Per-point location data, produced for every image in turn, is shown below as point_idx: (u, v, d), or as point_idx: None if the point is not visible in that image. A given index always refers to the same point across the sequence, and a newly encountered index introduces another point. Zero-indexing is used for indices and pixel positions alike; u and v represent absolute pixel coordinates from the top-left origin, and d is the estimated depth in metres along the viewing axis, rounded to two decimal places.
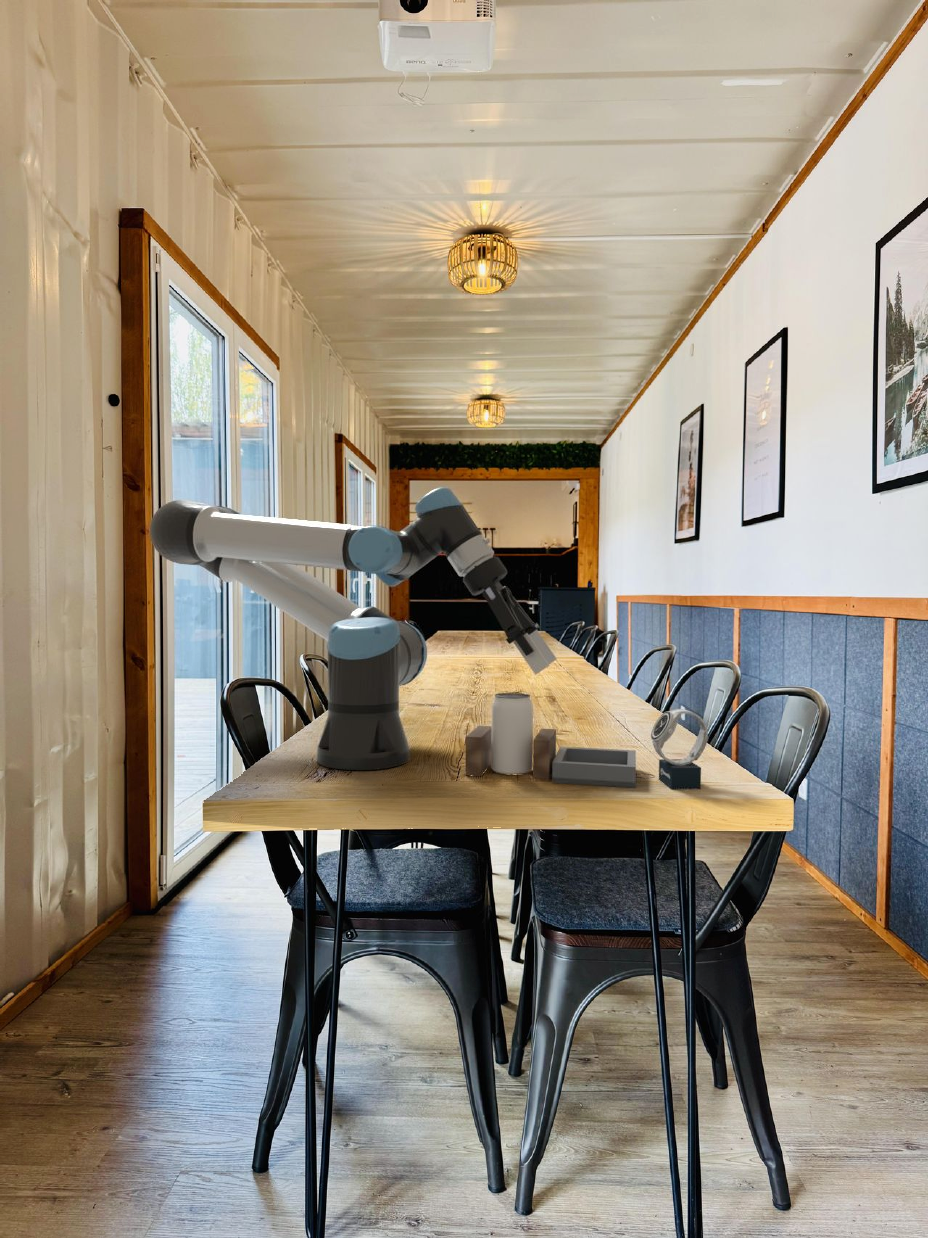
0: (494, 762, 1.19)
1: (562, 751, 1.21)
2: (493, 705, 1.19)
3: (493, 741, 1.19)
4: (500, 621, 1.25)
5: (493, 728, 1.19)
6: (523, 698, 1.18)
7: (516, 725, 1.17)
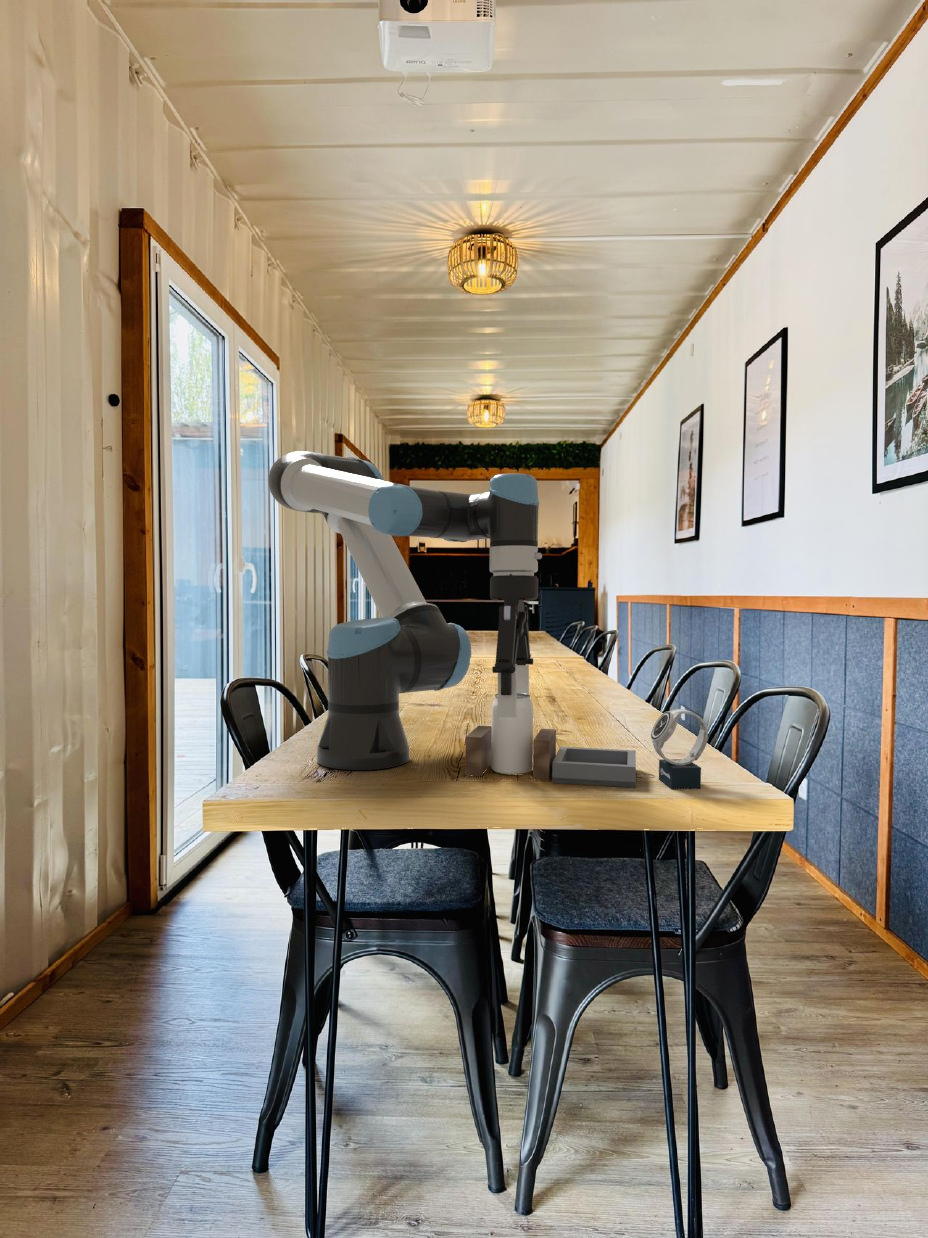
0: (494, 762, 1.19)
1: (562, 751, 1.21)
2: (493, 705, 1.19)
3: (493, 741, 1.19)
4: (498, 647, 1.11)
5: (493, 728, 1.19)
6: (523, 698, 1.18)
7: (516, 725, 1.17)
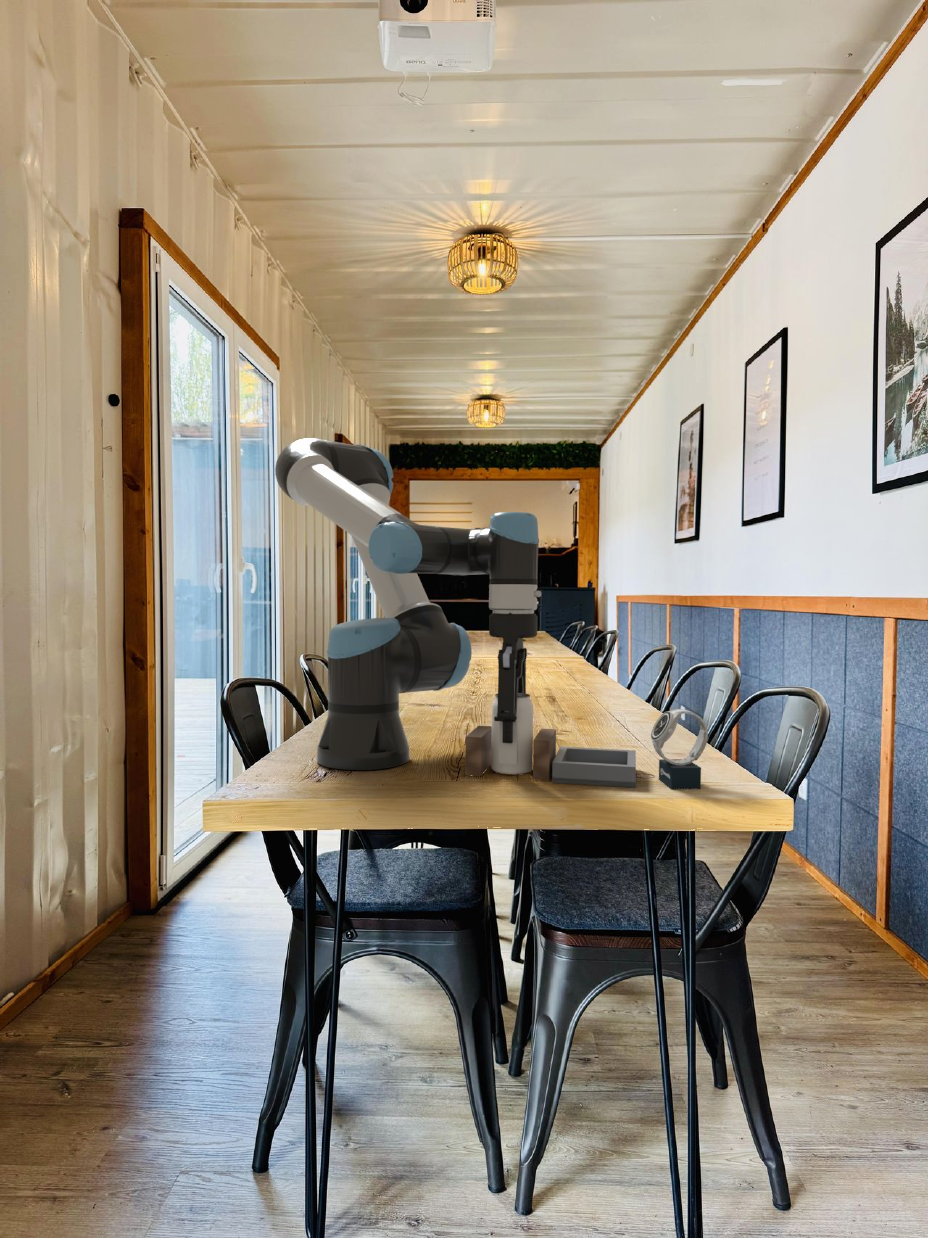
0: (494, 762, 1.19)
1: (562, 751, 1.21)
2: (493, 705, 1.19)
3: (493, 741, 1.19)
4: (499, 697, 1.14)
5: (493, 728, 1.19)
6: (523, 698, 1.18)
7: None
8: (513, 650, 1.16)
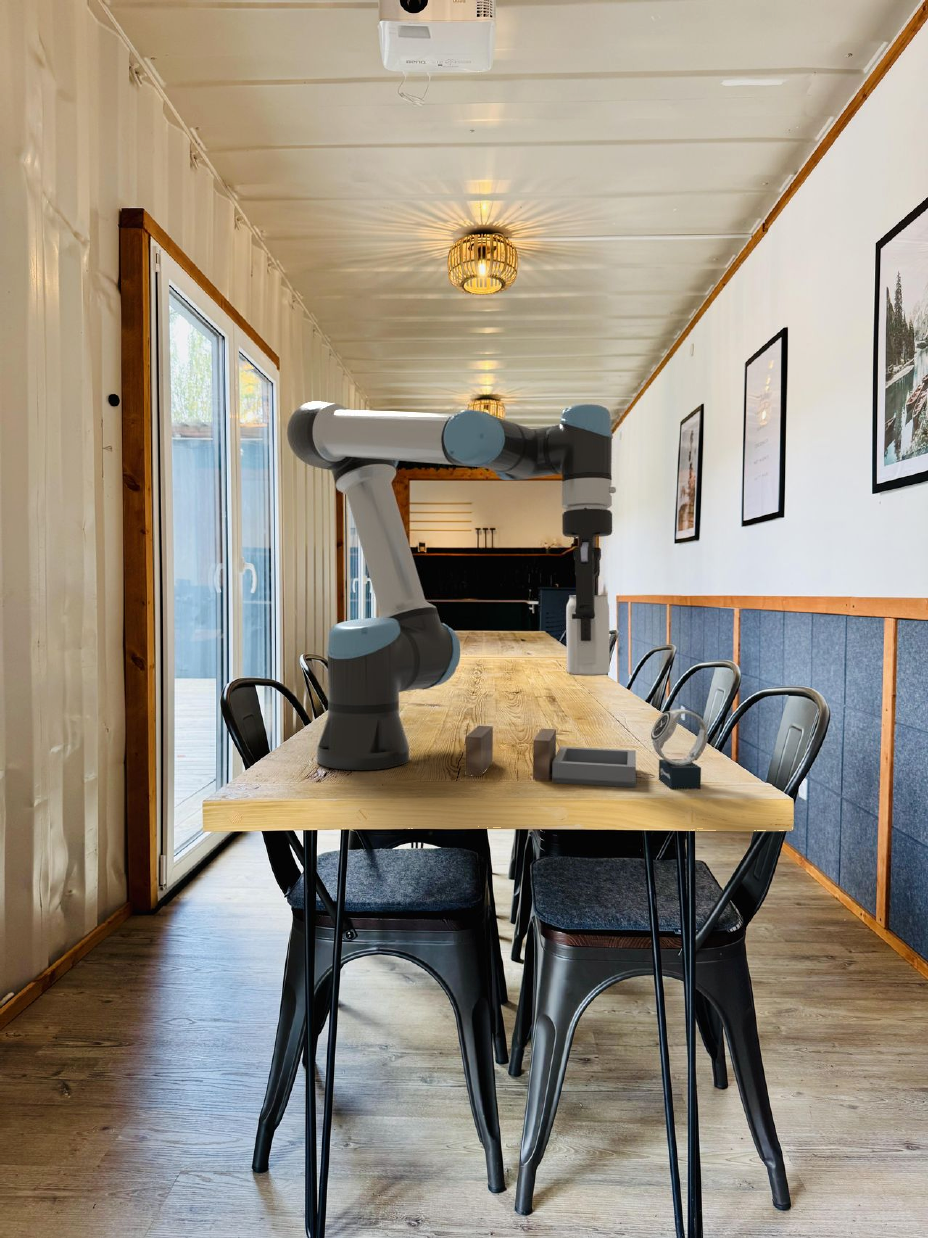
0: (570, 663, 1.15)
1: (562, 751, 1.21)
2: (568, 605, 1.16)
3: (569, 642, 1.16)
4: (577, 592, 1.10)
5: (569, 629, 1.16)
6: (600, 596, 1.15)
7: None
8: (590, 545, 1.12)
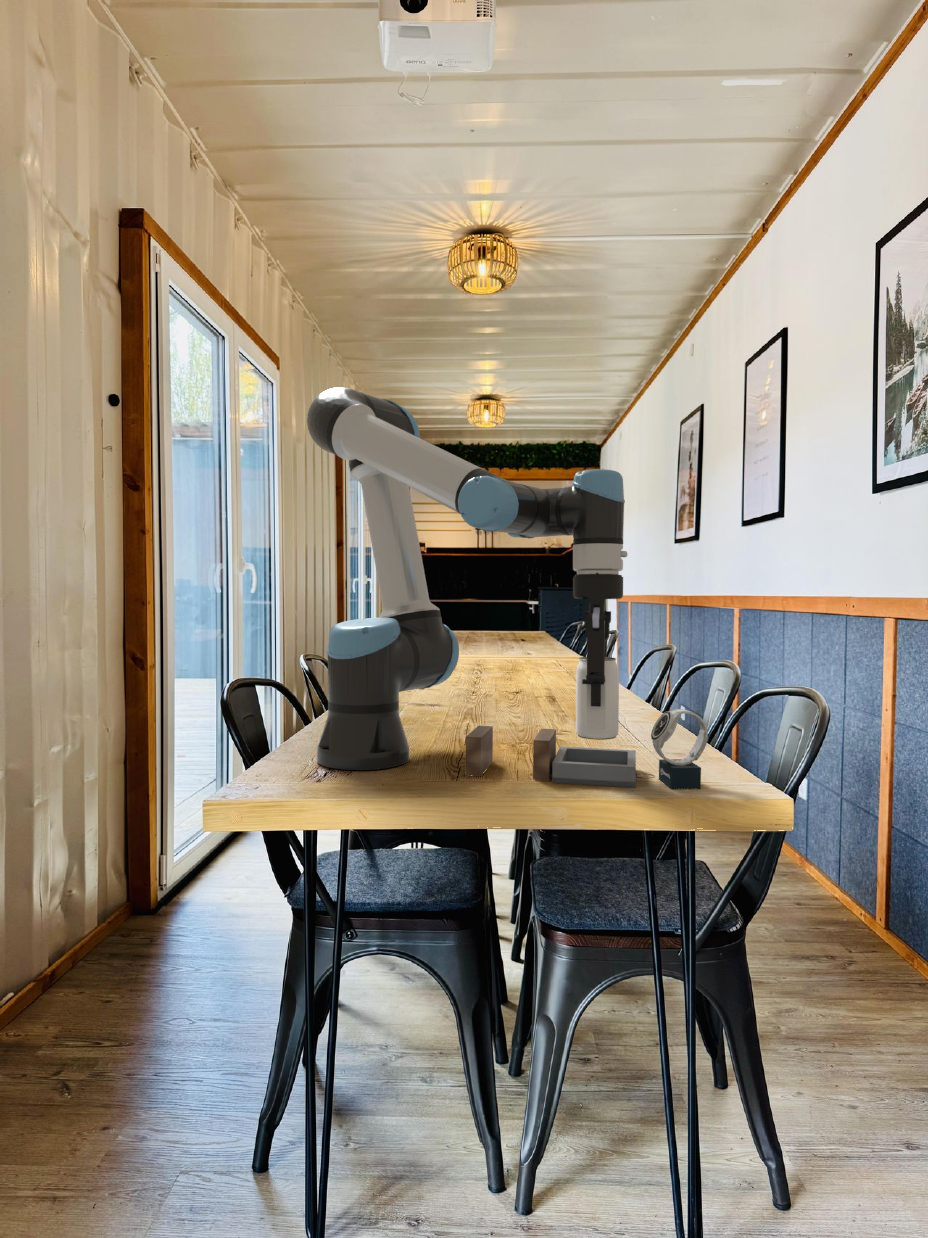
0: (580, 726, 1.16)
1: (562, 751, 1.21)
2: (578, 668, 1.16)
3: (579, 705, 1.16)
4: (589, 659, 1.11)
5: (578, 692, 1.16)
6: (610, 660, 1.15)
7: None
8: (601, 611, 1.13)
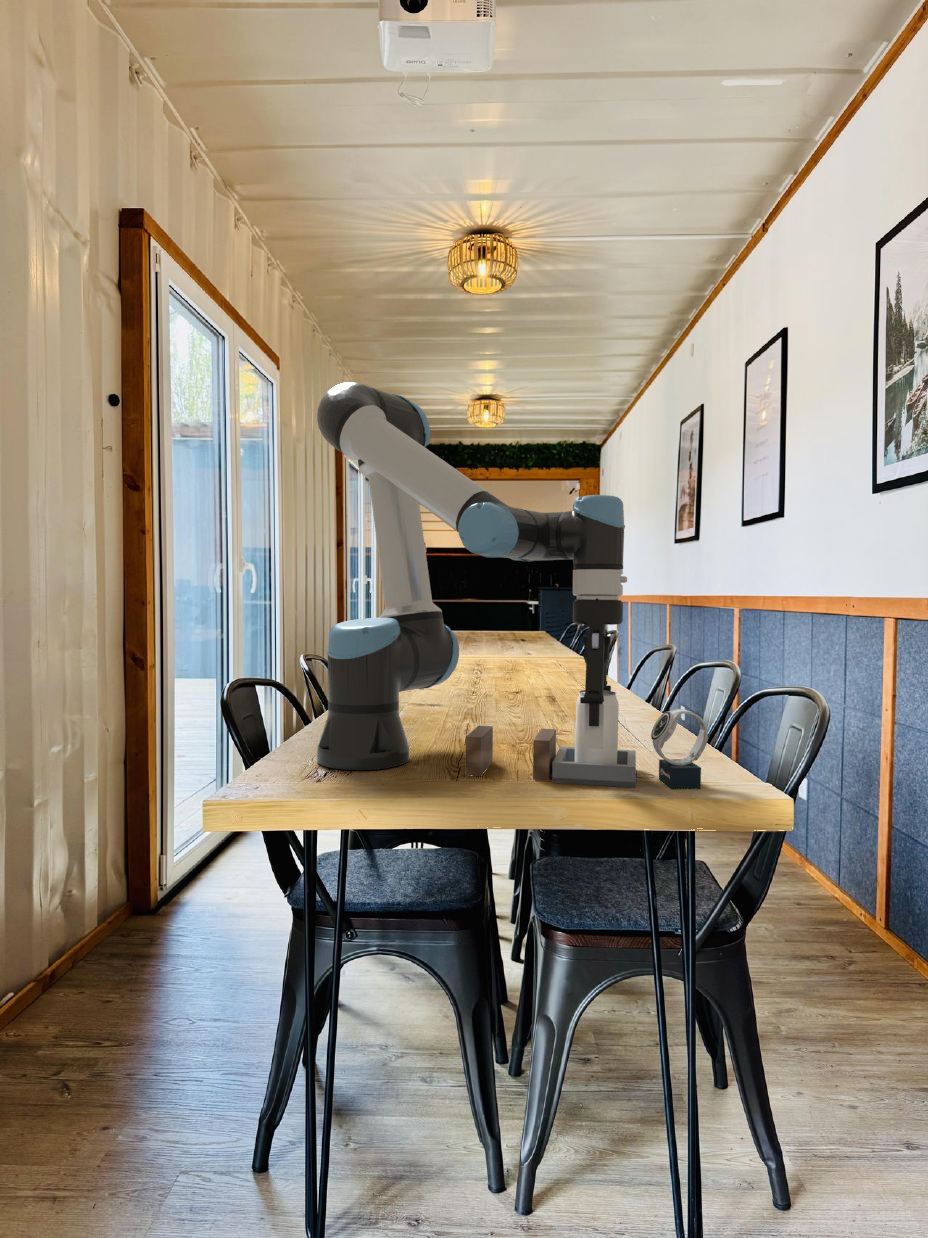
0: (579, 760, 1.16)
1: (562, 751, 1.21)
2: (578, 702, 1.17)
3: (578, 739, 1.17)
4: (587, 677, 1.09)
5: (578, 725, 1.17)
6: (610, 695, 1.15)
7: None
8: None
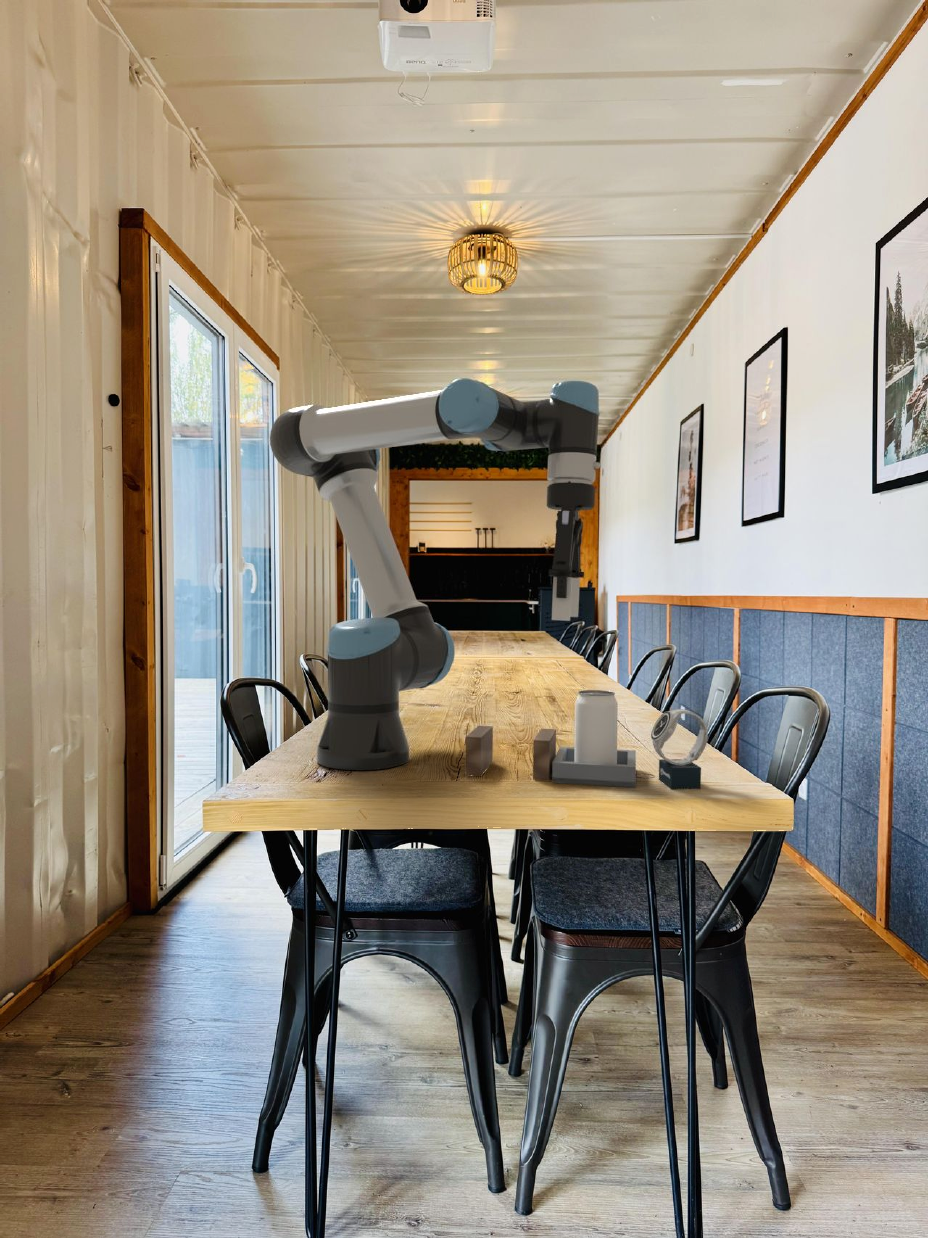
0: (578, 761, 1.16)
1: (562, 751, 1.21)
2: (577, 703, 1.17)
3: (577, 739, 1.17)
4: (556, 549, 1.13)
5: (577, 726, 1.17)
6: (609, 695, 1.15)
7: (603, 723, 1.15)
8: None
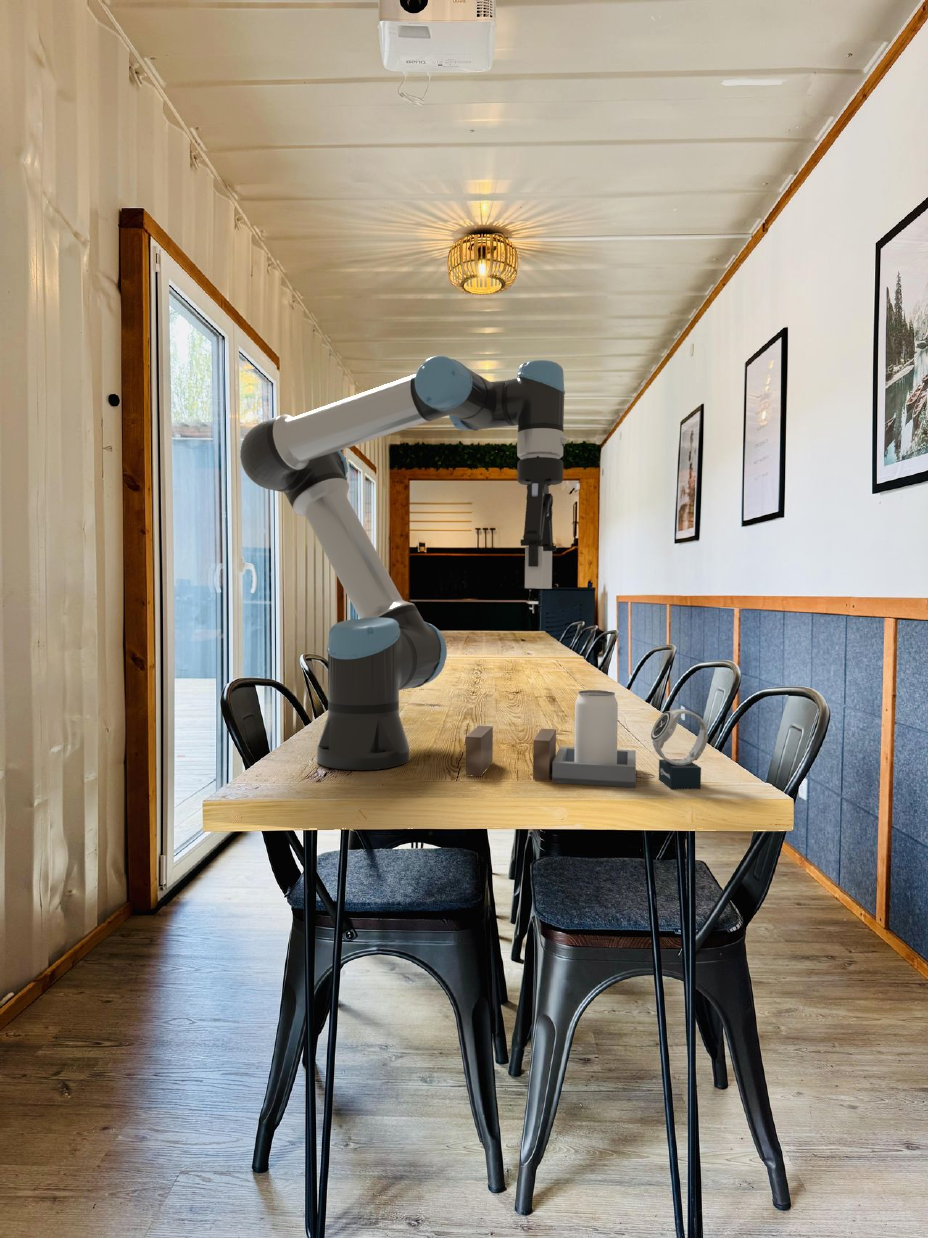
0: (578, 761, 1.16)
1: (562, 751, 1.21)
2: (577, 703, 1.17)
3: (577, 739, 1.17)
4: (526, 520, 1.18)
5: (577, 726, 1.17)
6: (609, 695, 1.15)
7: (603, 723, 1.15)
8: None
